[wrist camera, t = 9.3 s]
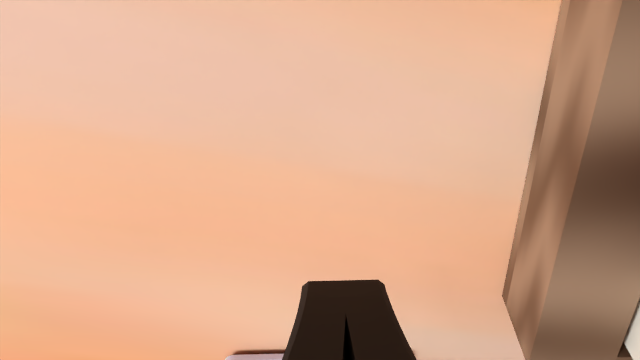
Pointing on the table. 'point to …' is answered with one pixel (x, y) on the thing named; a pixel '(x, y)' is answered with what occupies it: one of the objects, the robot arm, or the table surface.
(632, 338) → the ivory key
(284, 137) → the table surface
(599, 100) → the key box
